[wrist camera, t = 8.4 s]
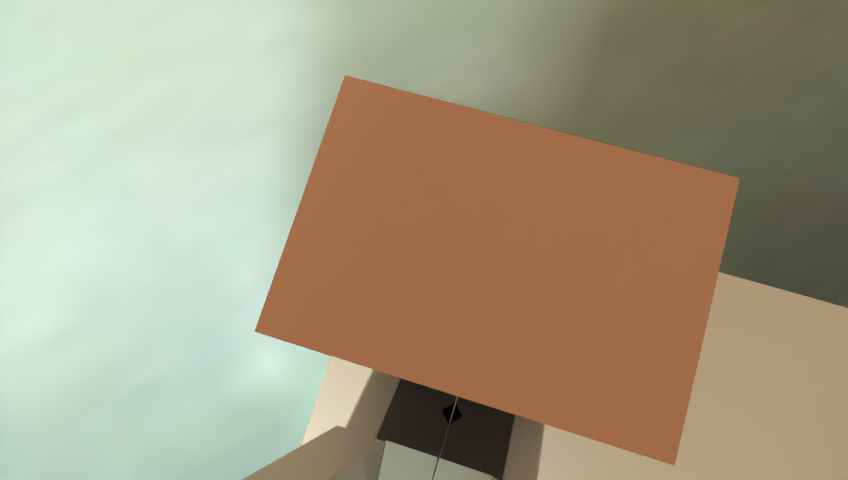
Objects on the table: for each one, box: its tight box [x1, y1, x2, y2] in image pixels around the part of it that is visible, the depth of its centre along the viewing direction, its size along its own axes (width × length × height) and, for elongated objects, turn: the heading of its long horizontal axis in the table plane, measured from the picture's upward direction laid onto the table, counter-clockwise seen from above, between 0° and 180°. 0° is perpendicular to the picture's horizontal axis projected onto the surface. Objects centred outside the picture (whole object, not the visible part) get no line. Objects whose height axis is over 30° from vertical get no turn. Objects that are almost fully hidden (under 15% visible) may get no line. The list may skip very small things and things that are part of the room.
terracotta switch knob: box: [255, 76, 740, 466], centre depth 13 cm, size 3×4×12 cm
